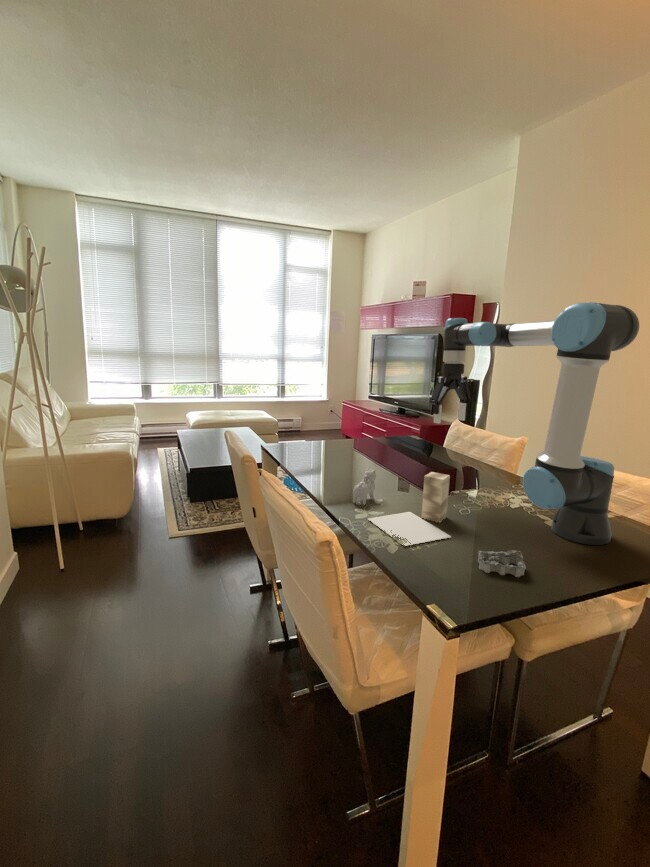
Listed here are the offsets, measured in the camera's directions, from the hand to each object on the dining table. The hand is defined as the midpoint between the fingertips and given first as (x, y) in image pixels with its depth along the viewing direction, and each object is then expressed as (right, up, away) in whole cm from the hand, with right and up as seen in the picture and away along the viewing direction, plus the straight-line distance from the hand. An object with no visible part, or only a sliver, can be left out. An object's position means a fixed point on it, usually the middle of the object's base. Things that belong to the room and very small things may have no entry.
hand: (449, 421), depth 155 cm
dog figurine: (-32, -28, -6) cm, 43 cm away
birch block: (-11, -31, -20) cm, 39 cm away
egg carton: (-2, -38, -51) cm, 63 cm away
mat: (-21, -33, -29) cm, 49 cm away
